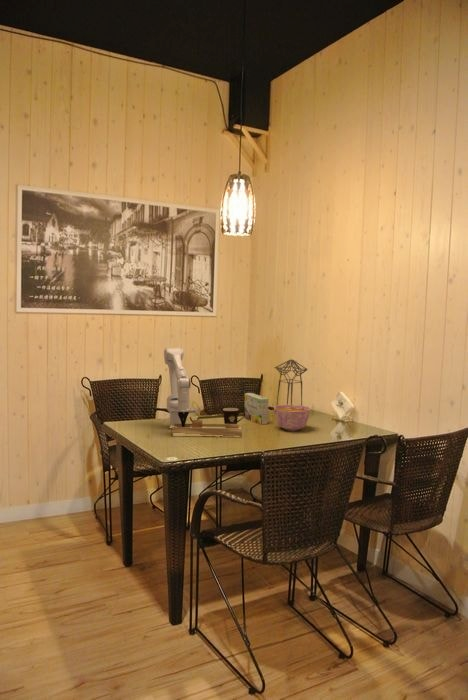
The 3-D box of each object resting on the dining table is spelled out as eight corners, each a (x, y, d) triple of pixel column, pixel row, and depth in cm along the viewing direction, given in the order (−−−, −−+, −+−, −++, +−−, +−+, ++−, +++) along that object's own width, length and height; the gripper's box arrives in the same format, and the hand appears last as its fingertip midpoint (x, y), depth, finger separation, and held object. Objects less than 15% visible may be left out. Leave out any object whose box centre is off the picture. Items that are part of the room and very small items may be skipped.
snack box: (243, 418, 331) (244, 393, 330) (252, 417, 334) (252, 392, 333) (260, 425, 312) (260, 398, 311) (268, 424, 315) (269, 398, 313)
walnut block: (192, 427, 291) (192, 419, 291) (202, 427, 291) (202, 420, 291) (191, 429, 286) (192, 422, 286) (201, 429, 286) (201, 422, 286)
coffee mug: (221, 428, 303) (221, 410, 302) (225, 425, 311) (225, 407, 310) (241, 429, 300) (242, 411, 299) (245, 426, 308) (245, 408, 307)
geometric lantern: (288, 413, 348) (291, 357, 345) (307, 417, 336) (309, 360, 333) (270, 415, 338) (272, 358, 335) (288, 420, 326) (291, 361, 323)
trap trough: (174, 431, 294) (174, 423, 294) (241, 432, 294) (241, 424, 293) (171, 436, 283) (171, 427, 283) (241, 437, 283) (241, 428, 282)
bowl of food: (267, 430, 299) (267, 409, 298) (281, 423, 316) (282, 403, 315) (302, 435, 289) (302, 413, 288) (315, 427, 307) (315, 407, 306)
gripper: (168, 401, 283) (168, 428, 285) (196, 402, 283) (196, 428, 284) (170, 399, 290) (170, 425, 292) (197, 399, 290) (197, 425, 291)
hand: (183, 426), depth 288 cm, fingers closed
